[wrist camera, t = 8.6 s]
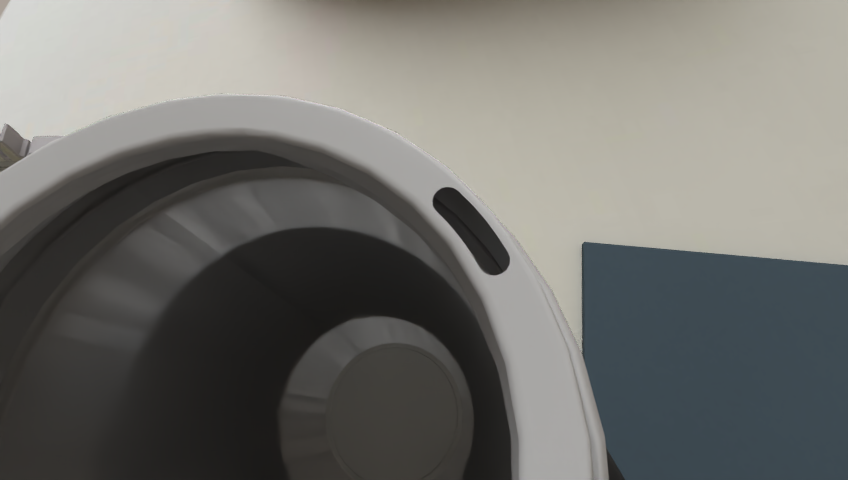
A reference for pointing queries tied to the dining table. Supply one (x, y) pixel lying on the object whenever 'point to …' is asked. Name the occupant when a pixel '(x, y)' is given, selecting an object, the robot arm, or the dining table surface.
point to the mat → (717, 363)
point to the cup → (274, 309)
